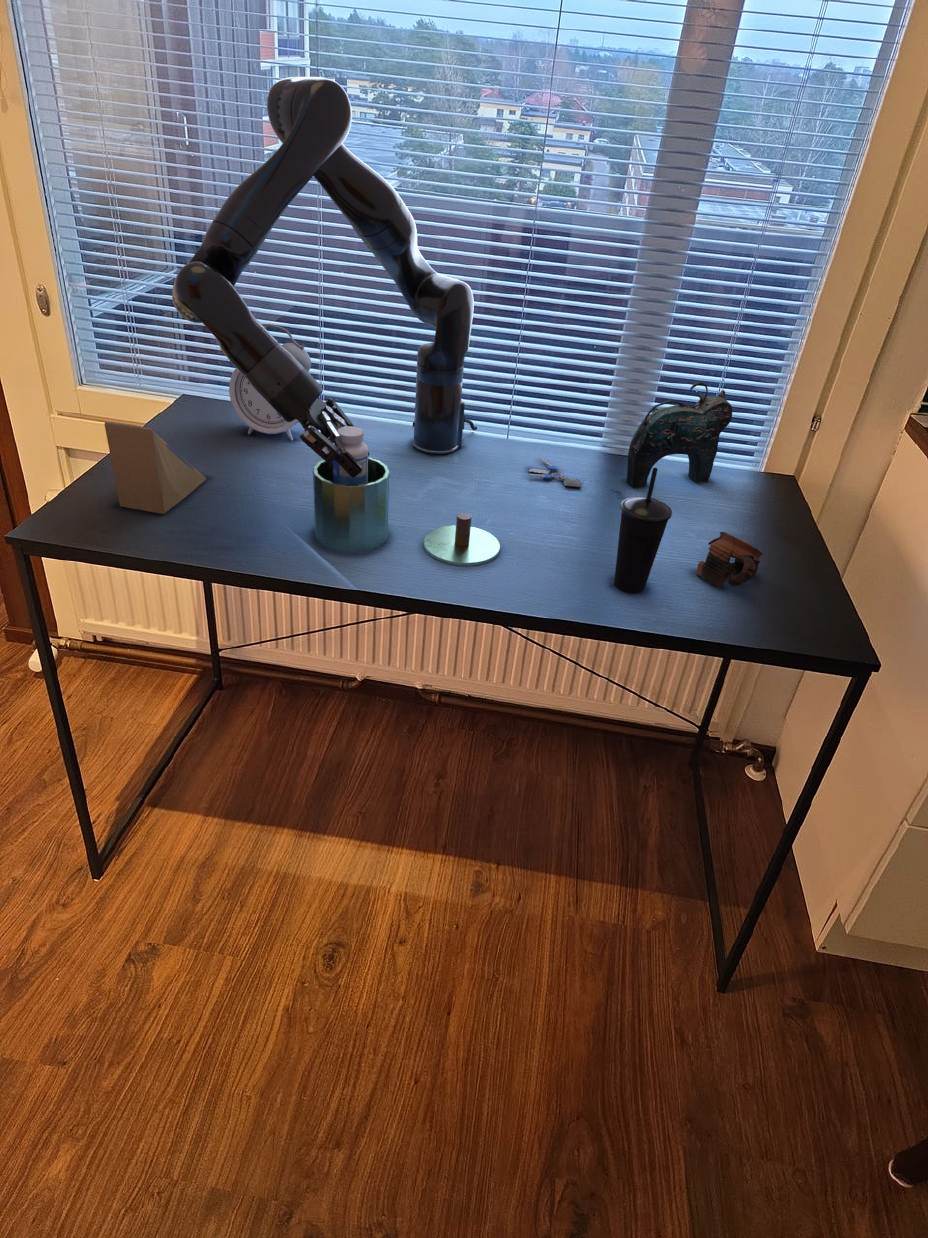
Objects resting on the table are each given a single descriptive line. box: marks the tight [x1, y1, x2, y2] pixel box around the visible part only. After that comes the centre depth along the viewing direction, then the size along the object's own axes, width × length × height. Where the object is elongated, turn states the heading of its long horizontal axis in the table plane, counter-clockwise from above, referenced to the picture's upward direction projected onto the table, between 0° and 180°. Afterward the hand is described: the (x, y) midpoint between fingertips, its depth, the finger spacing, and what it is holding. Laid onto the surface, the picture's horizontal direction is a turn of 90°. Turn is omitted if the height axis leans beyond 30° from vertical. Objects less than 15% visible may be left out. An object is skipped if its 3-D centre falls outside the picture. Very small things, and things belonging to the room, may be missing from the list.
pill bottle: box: [333, 426, 369, 485], centre depth 129 cm, size 6×5×10 cm
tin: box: [312, 456, 391, 553], centre depth 133 cm, size 12×12×12 cm
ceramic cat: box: [626, 381, 734, 488], centre depth 159 cm, size 20×6×20 cm, turn 108°
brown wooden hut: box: [695, 531, 764, 589], centre depth 133 cm, size 12×10×8 cm
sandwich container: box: [103, 421, 208, 515], centre depth 140 cm, size 9×15×15 cm, turn 167°
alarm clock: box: [228, 323, 312, 441], centre depth 164 cm, size 16×9×22 cm, turn 81°
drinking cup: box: [613, 467, 673, 594], centre depth 125 cm, size 8×8×20 cm
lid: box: [423, 512, 501, 567], centre depth 134 cm, size 13×13×6 cm
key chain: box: [528, 457, 582, 488], centre depth 162 cm, size 14×8×1 cm, turn 34°
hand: (361, 465), depth 129 cm, fingers closed on pill bottle, 5 cm apart
